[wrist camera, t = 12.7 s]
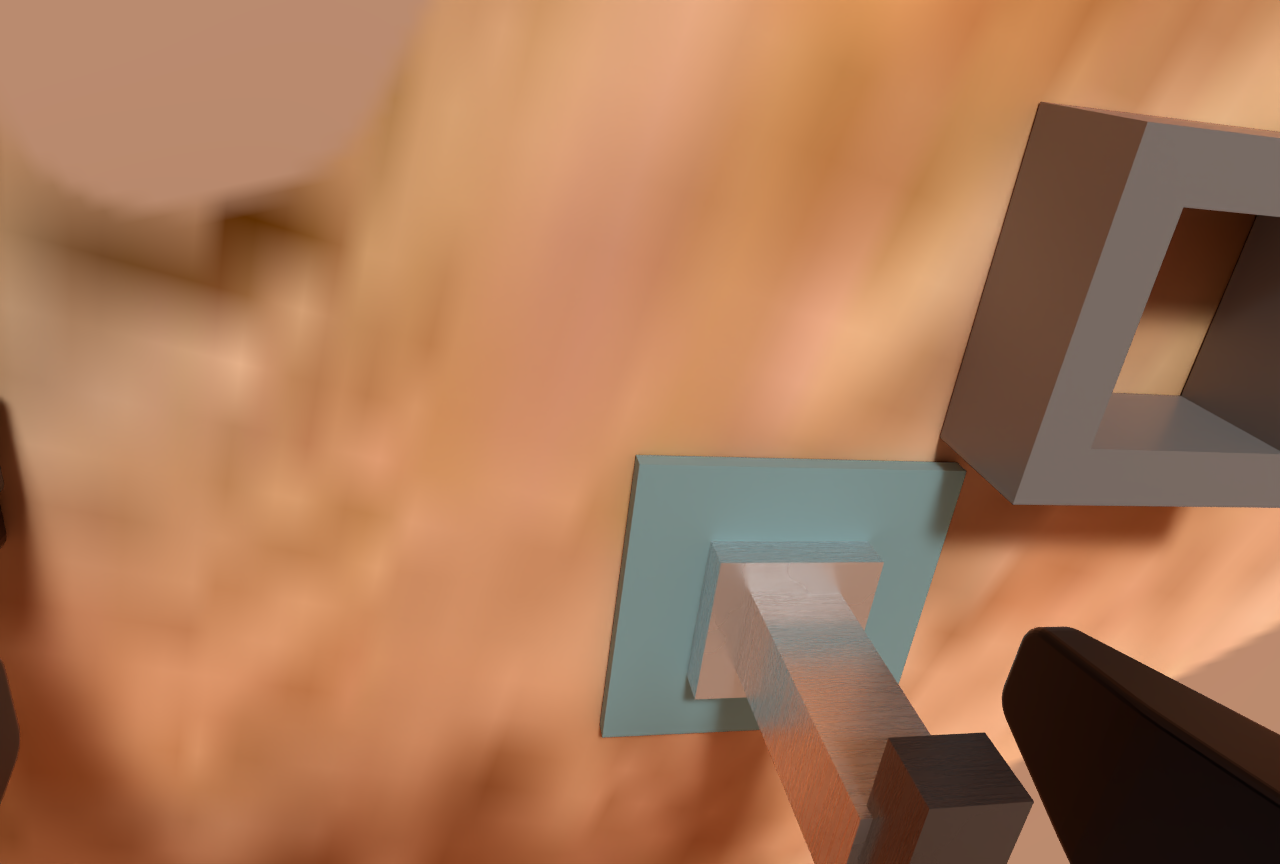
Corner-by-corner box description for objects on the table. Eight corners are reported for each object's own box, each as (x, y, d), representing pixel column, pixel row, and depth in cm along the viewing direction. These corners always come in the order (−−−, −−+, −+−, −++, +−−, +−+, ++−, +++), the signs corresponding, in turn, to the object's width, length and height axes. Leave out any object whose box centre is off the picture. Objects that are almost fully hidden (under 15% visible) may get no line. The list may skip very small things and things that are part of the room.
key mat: (599, 724, 26) (602, 737, 25) (636, 455, 22) (639, 464, 21) (879, 712, 28) (885, 723, 27) (957, 462, 24) (966, 471, 23)
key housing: (939, 437, 23) (1012, 504, 20) (1040, 101, 20) (1148, 121, 17) (1204, 445, 25) (1308, 507, 22) (1341, 139, 22) (1487, 163, 18)
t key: (682, 694, 25) (790, 1033, 17) (715, 516, 23) (861, 813, 14) (827, 689, 26) (996, 1006, 18) (874, 518, 23) (1096, 796, 15)
